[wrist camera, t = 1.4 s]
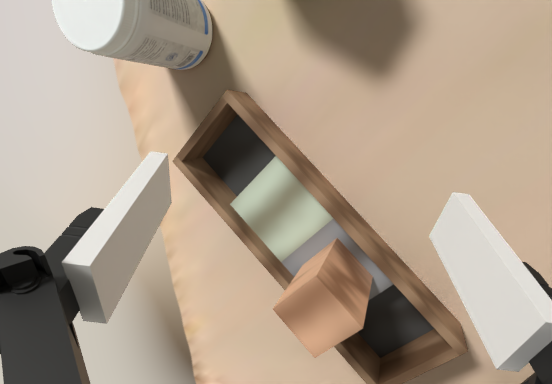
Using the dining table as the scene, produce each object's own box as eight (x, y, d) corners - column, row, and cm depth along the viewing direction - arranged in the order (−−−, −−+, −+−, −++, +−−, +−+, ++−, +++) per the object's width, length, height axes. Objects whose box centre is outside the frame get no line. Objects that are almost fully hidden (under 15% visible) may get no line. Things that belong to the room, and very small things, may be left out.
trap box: (460, 323, 37) (468, 351, 33) (379, 365, 42) (377, 395, 38) (246, 92, 41) (226, 89, 36) (195, 156, 46) (172, 161, 41)
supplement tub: (162, -15, 42) (51, -77, 29) (223, 1, 40) (132, -58, 26) (150, 61, 45) (44, 37, 32) (206, 81, 43) (116, 64, 29)
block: (372, 276, 37) (362, 328, 28) (335, 302, 39) (314, 357, 30) (337, 237, 37) (316, 276, 28) (302, 265, 40) (272, 309, 31)
